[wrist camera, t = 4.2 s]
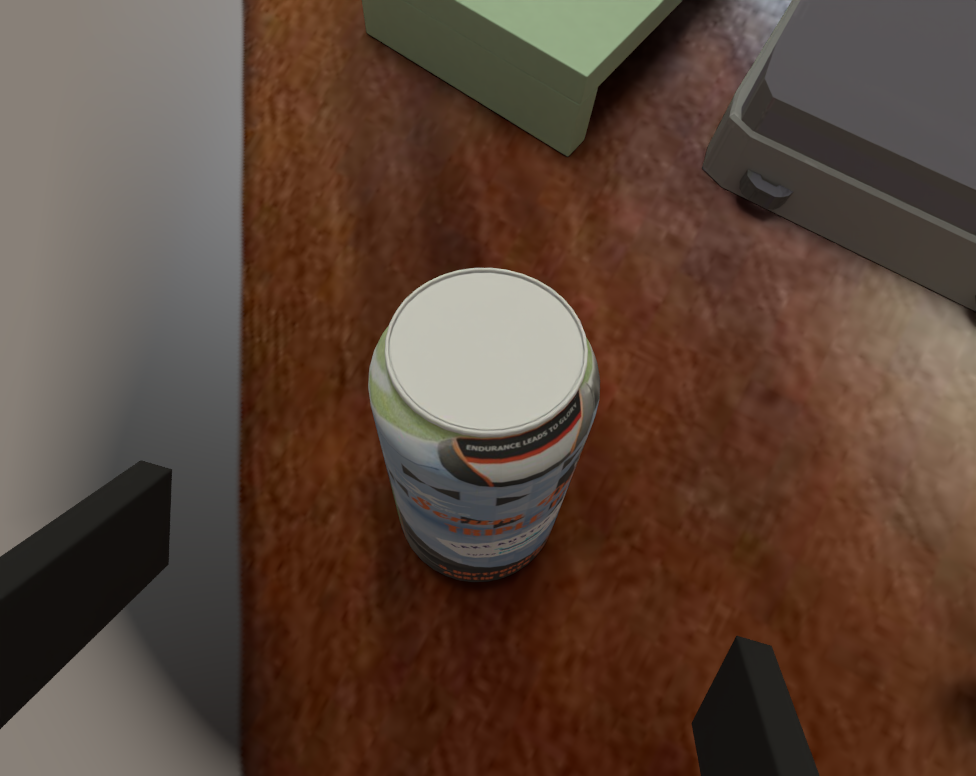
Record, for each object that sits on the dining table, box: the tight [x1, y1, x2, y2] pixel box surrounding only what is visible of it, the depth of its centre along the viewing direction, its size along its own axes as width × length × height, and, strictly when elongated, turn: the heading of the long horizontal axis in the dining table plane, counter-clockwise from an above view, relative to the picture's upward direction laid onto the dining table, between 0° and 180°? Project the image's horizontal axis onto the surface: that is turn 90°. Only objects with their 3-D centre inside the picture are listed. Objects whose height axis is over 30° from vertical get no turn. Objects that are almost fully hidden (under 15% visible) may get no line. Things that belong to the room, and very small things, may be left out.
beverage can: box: [368, 268, 600, 582], centre depth 20 cm, size 6×7×12 cm
